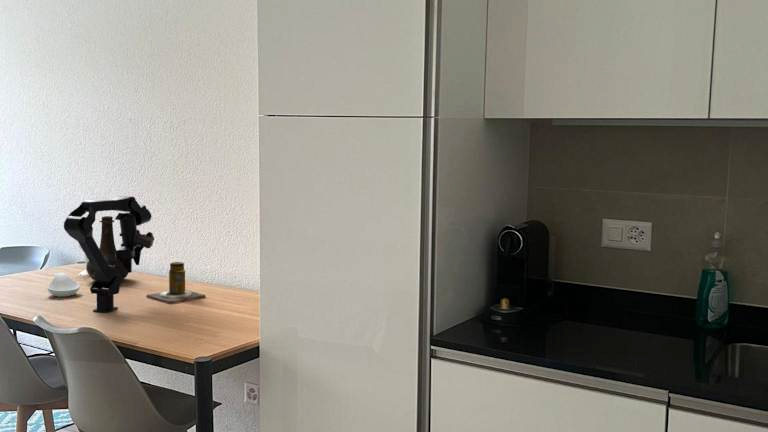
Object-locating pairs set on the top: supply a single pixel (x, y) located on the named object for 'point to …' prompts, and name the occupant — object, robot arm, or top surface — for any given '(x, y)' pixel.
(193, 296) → the brown flat square slab
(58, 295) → the spoon rest
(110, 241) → the glass bottle
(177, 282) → the condiment
